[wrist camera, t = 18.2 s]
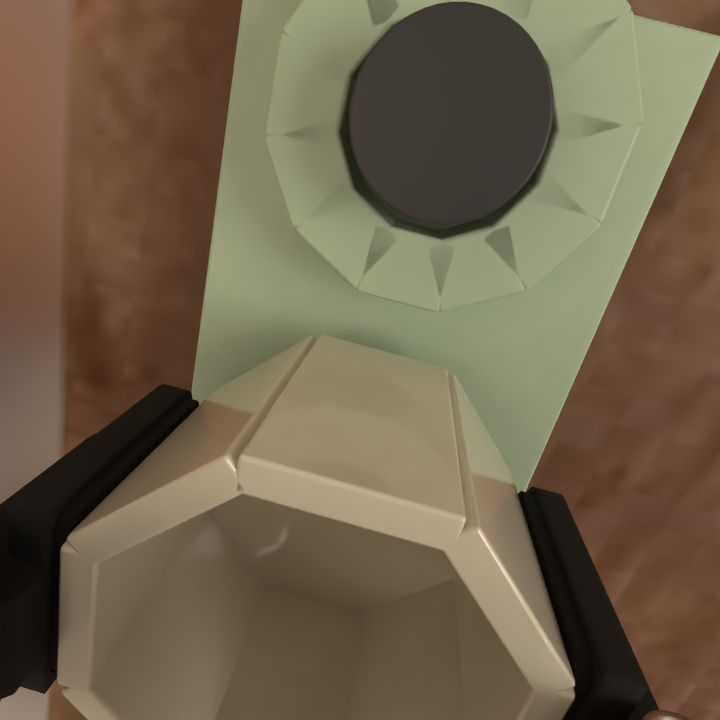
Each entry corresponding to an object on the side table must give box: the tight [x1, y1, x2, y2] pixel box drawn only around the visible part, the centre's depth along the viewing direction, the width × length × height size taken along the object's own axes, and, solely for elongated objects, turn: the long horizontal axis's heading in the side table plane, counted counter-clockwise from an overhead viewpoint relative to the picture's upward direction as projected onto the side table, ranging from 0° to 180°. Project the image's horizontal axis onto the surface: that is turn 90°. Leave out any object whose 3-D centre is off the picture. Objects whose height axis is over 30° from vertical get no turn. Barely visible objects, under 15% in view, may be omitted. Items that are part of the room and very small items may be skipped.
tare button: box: [349, 2, 554, 225], centre depth 7 cm, size 3×3×2 cm
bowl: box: [57, 335, 575, 720], centre depth 8 cm, size 6×6×4 cm
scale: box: [191, 0, 720, 493], centre depth 11 cm, size 15×8×3 cm, turn 166°
